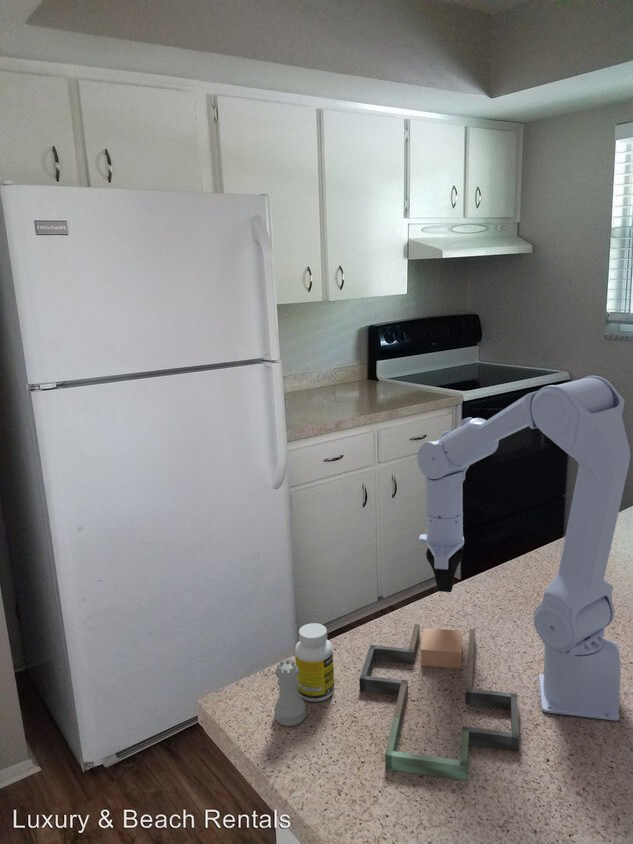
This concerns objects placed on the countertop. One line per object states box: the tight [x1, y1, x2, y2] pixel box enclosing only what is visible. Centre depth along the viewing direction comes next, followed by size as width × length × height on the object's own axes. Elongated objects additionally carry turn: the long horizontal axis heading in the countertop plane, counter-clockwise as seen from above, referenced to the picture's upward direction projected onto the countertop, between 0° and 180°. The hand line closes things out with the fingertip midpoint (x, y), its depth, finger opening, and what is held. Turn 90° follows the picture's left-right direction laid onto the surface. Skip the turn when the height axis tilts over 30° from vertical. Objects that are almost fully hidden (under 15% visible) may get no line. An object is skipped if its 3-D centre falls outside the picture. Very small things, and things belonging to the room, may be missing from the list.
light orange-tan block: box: [420, 627, 463, 670], centre depth 100 cm, size 6×6×3 cm
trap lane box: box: [358, 623, 520, 782], centre depth 91 cm, size 22×30×2 cm
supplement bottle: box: [294, 622, 335, 703], centre depth 92 cm, size 5×5×10 cm
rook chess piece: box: [273, 659, 308, 727], centre depth 88 cm, size 4×4×8 cm
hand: (445, 589), depth 106 cm, fingers closed
